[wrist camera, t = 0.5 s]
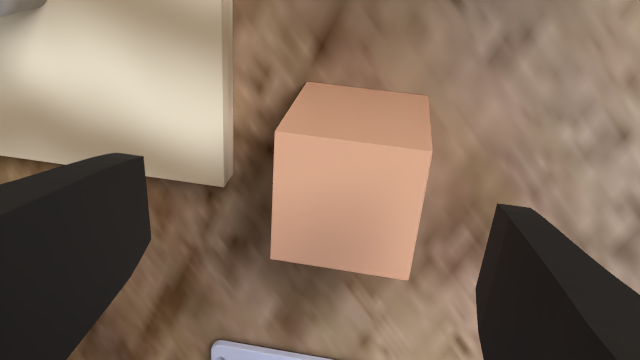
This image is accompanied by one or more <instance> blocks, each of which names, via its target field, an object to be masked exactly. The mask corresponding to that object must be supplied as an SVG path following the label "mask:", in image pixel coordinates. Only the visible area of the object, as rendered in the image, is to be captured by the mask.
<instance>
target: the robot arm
mask: <svg viewBox="0 0 640 360" xmlns="http://www.w3.org/2000/svg"><path fill="white" fill-rule="evenodd" d="M150 240H151V231H150V220H149V210H148V199H147V188H146V177H145V166H144V156H139V155H131V154H124V153H110V154H104V155H100V156H95V157H92V158H88V159H84V160H81V161H77V162H74V163H71V164H67V165H64V166H61V167H57V168H54V169H51V170H48V171H44V172H41V173H38V174H35V175H31V176H28V177H25V178H22V179H18V180H15V181H11V182H8V183H4V184H1V185H0V360H66V359H67V358H68V357H69V355H70V354H71V353H72V352H73V350H74V349H75V348H76V347H77V345H78V344H79V343H80V341H81V340H82V339H83V338H84V336H85V335H86V334H87V332H88V331H89V330H90V329H91V327H92V326H93V325H94V324H95V322H96V321H97V320H98V318H99V317H100V316H101V315H102V313H103V312H104V311H105V309H106V308H107V307H108V306H109V304H110V303H111V302H112V300H113V299H114V298H115V296H116V295H117V294H118V293H119V291H120V290H121V289H122V287H123V286H124V285H125V283H126V282H127V281H128V279H129V278H130V277H131V275H132V273H133V271H134V270H135V268H136V266H137V265H138V263H139V261H140V259H141V257H142V256H143V254H144V252H145V250H146V248H147V246H148V244H149V242H150ZM476 304H477V320H478V333H479V338H480V343H481V348H482V353H483V358H484V360H640V295H639V294H638V293H637V292H635V291H634V290H632V289H631V288H630V287H628V286H627V285H626V284H624V283H623V282H622V281H620V280H619V279H618V278H616V277H615V276H614V275H612V274H611V273H610V272H609V271H607V270H606V269H605V268H604V267H602V266H601V265H600V264H599V263H597V262H596V261H595V260H594V259H592V258H591V257H590V256H589V255H588V254H586V253H585V252H584V251H583V250H582V249H580V248H579V247H578V246H577V245H576V244H574V243H573V242H572V241H571V240H570V239H568V238H567V237H566V236H565V235H564V234H563V233H561V232H560V231H559V230H558V229H557V228H556V227H554V226H553V225H552V224H551V223H550V222H548V221H547V220H546V219H545V218H543V217H542V216H541V215H540V214H538V213H537V212H536V211H534V210H533V209H531V208H527V207H520V206H512V205H505V204H497V207H496V211H495V215H494V219H493V223H492V226H491V230H490V234H489V238H488V242H487V246H486V250H485V254H484V258H483V262H482V266H481V270H480V273H479V277H478V281H477V285H476ZM221 357H223V358H224V359H223V358H221ZM211 360H332V359H327V358H321V357H315V356H310V355H304V354H298V353H292V352H287V351H281V350H275V349H270V348H264V347H258V346H253V345H247V344H241V343H235V342H230V341H224V340H218V341H215V343H214V344H213V346H212V348H211Z"/></svg>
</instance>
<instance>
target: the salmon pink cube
mask: <svg viewBox="0 0 640 360" xmlns="http://www.w3.org/2000/svg"><path fill="white" fill-rule="evenodd" d="M432 152H433V150H432V138H431V125H430V113H429V100H428V96H424V95H416V94H407V93H399V92H390V91H382V90H373V89H365V88H356V87H348V86H339V85H331V84H322V83H314V82H306V84H305V85H304V87H303V89H302V90H301V92H300V93H299V95H298V96H297V98H296V99H295V101H294V102H293V104H292V105H291V107H290V109H289V110H288V112H287V113H286V115H285V116H284V118H283V119H282V121H281V122H280V124H279V126H278V127H277V129H276V130H275V140H274V169H273V198H272V227H271V256H270V259H274V260H280V261H287V262H293V263H299V264H306V265H312V266H319V267H325V268H331V269H338V270H344V271H351V272H357V273H363V274H370V275H376V276H383V277H389V278H395V279H402V280H409V275H410V269H411V264H412V259H413V253H414V248H415V243H416V237H417V232H418V227H419V221H420V216H421V211H422V205H423V200H424V195H425V189H426V184H427V179H428V173H429V168H430V163H431V157H432Z"/></svg>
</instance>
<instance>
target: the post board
mask: <svg viewBox="0 0 640 360" xmlns="http://www.w3.org/2000/svg"><path fill="white" fill-rule="evenodd" d="M110 153H124V154H131V155H139V156H144V166H145V176H149V177H156V178H163V179H170V180H177V181H184V182H191V183H198V184H205V185H212V186H219V187H224V186H225V185H226V184H227V182H228V181H229V179H230V178H231V177H232V175H233V2H232V0H0V155H1V156H8V157H15V158H22V159H29V160H36V161H43V162H50V163H57V164H64V165H67V164H71V163H74V162H77V161H81V160H84V159H88V158H92V157H95V156H100V155H104V154H110Z"/></svg>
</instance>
